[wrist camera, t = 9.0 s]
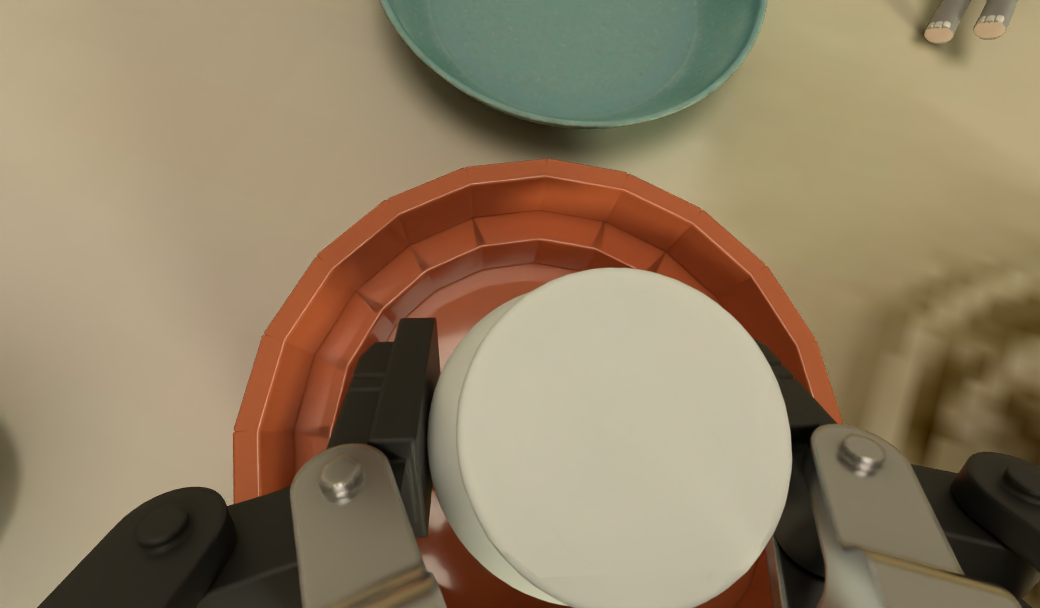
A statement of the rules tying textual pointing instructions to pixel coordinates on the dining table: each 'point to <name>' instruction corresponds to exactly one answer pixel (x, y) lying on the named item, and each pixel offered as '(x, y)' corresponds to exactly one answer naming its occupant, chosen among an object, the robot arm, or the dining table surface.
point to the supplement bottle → (611, 443)
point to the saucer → (581, 53)
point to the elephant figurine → (986, 27)
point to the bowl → (475, 293)
